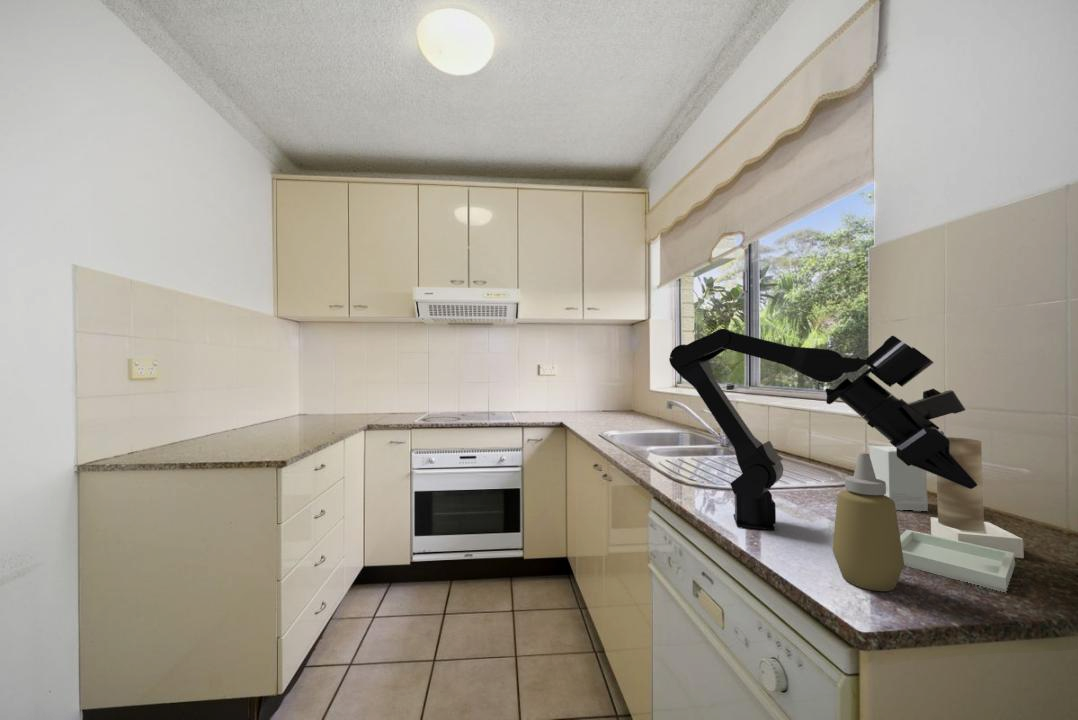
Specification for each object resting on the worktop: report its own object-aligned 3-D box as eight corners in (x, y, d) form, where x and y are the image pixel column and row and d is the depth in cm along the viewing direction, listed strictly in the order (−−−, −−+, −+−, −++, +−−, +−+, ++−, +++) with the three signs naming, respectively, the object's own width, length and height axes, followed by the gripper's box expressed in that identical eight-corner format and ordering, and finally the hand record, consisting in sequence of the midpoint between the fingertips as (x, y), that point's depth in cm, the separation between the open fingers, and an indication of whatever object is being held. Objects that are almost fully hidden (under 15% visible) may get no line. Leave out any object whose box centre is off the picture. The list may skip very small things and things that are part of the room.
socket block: (958, 551, 70) (957, 533, 71) (931, 533, 78) (930, 517, 78) (1023, 558, 68) (1023, 539, 68) (988, 539, 76) (988, 521, 76)
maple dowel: (939, 526, 65) (936, 440, 65) (936, 517, 69) (934, 436, 69) (986, 534, 62) (983, 443, 62) (981, 524, 66) (978, 439, 66)
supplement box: (929, 512, 90) (927, 452, 91) (889, 510, 92) (887, 450, 92) (906, 502, 97) (905, 446, 98) (869, 500, 99) (868, 445, 99)
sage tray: (1006, 593, 57) (1005, 578, 57) (887, 561, 67) (886, 548, 67) (1014, 566, 65) (1014, 553, 65) (907, 541, 75) (906, 529, 75)
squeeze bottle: (882, 602, 55) (879, 461, 56) (820, 575, 62) (817, 451, 63) (918, 589, 58) (914, 456, 59) (854, 565, 66) (851, 447, 66)
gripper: (925, 372, 61) (1045, 460, 54) (919, 372, 76) (1013, 441, 68) (857, 423, 66) (959, 510, 59) (864, 414, 80) (946, 483, 73)
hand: (971, 483), depth 65 cm, fingers closed on maple dowel, 5 cm apart
